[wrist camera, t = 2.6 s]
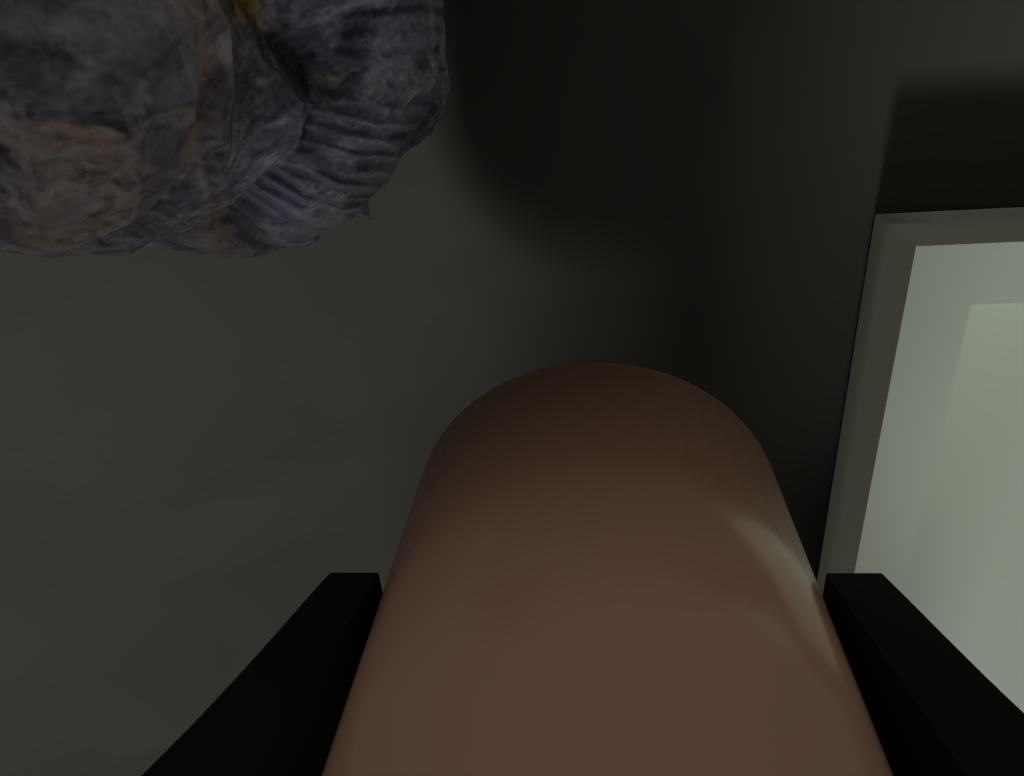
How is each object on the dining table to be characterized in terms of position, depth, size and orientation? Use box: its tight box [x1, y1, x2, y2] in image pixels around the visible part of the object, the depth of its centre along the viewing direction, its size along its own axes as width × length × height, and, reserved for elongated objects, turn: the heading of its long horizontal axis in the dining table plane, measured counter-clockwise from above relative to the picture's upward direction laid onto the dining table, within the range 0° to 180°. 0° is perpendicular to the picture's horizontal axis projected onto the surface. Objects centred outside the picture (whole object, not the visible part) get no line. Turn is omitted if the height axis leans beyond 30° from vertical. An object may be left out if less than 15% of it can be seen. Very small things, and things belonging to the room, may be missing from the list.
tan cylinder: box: [322, 362, 893, 776], centre depth 8 cm, size 5×5×6 cm
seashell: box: [0, 0, 451, 258], centre depth 8 cm, size 5×5×10 cm
